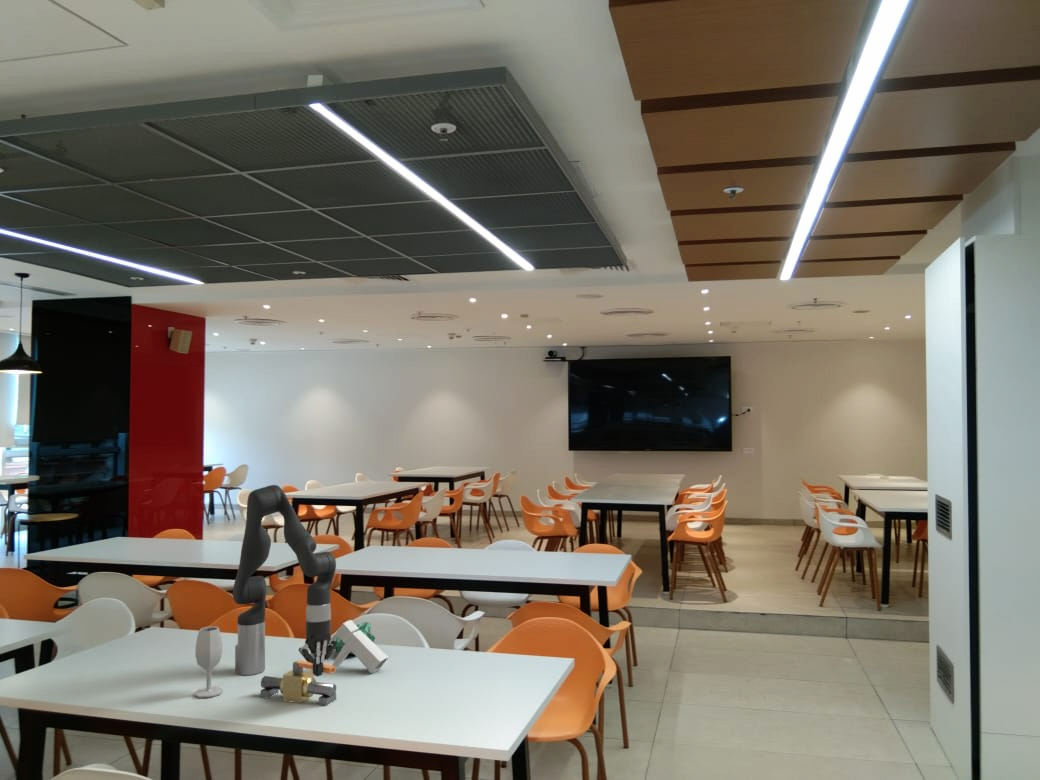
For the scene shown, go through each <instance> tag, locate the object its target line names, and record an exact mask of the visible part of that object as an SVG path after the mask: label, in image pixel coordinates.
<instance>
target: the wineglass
mask: <svg viewBox="0 0 1040 780" xmlns="http://www.w3.org/2000/svg"><path fill="white" fill-rule="evenodd" d="M195 643H196V644H195V659H196V664H197V665H198V666H199V667H201V668H202V669H203V670H204V671H205V672H206V687H204V688H203V687H202V688H200V689H197V690H196V691H195V692H194V697H196V698H198V699H205V698H213V697H217V696H219V695H221V694H222V693H223V691H224V688H222V687H220V686H212V670H213V669H214V668H216V666H217V665H219V663H220V662H221V659H222V654H223V641H222V633H221V631H220V628H219V627H218V626H216V625H215V626H206V627H205V626H204V627H201V628H200V629H199V630H198V634H197V637H196V642H195Z"/></svg>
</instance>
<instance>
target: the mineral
mask: <svg viewBox="0 0 1040 780" xmlns="http://www.w3.org/2000/svg"><path fill="white" fill-rule="evenodd" d="M355 625H356V624H355ZM371 625H372V624H371V622H368V621H364V622H361V623H359V624H357V625H356V626H357V627H358V628H359V630H361V631H362V632H363V633H364V634H365V635H366V636H367V637H368V638H369V639H370V640H371V641H372V642H373V643H375V642H374V641H375V640H376V637H375V635H374V634H372V633H371V629H372V626H371ZM359 630H358V631H359ZM335 641H337V645H336V646H335V648H334V650H335V653H336V654H339V652H340V651H341V649H342V648H343V646H344V645H345V643H344V642H343V641H342V640H341V639H340V638H339V637H338V636H337V638H336V639H335ZM350 654H351V655H355V654H354V653H353V652H350V653H349V654H348V655H350Z"/></svg>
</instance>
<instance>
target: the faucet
mask: <svg viewBox="0 0 1040 780" xmlns="http://www.w3.org/2000/svg"><path fill="white" fill-rule="evenodd" d="M358 630H359V628H358V627H357V626H356V624H355V622H353V620H352V619H349V620H347V621H345V622H343V623H341V625H340V626H339V628H337V631H336V633H335V634H334V635H332V636H331V639H332V640H334V641H335V639H336V638H337V636H338V637H339V638H340V639H341V640H342V641H343V642H344V643H345V645H344V646H343V648H342V649H341V651H340V652H339V653H337V656H336V657H335V660H334V661H333V663H332V664H331V665H332V666H336V667H337V666H339V665H341V666H342V664H343V662H344V661H345V660H346V658H347V656H348V655H350V654H351V653H350V652H353V653H354V654H353V655H354V656H355V657H356V658H357V659H358V660H359V662H360V663H361V664H362V665H363V666H364V667H365V668H366V670H367V671H368V672H369V673H370V674H371V673H372V674H374V673H375V671H376V672H377V671H379V670H380V669H381V668H382V667H383V666H384V665H385V663H386V661H387V660H388V658H389V656H388V655H387V654H386V653H385V652H384V651H383V650H382V649H381V648H380V647H378V645H376V644H375V642H372V641H371V640H370V639H369V638H368V637H367V636H366V635H365V634H364V633H363V632H362V631H361V630H359V631H358ZM349 653H350V654H349ZM339 667H340V666H339ZM337 668H338V667H337ZM378 669H379V670H378ZM373 672H374V673H373Z"/></svg>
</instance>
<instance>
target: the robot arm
mask: <svg viewBox="0 0 1040 780" xmlns="http://www.w3.org/2000/svg"><path fill="white" fill-rule="evenodd" d="M246 501H247V502H246V518H245V519H246V520H245V529H244V535H243V539H242V544H241V551H240V557H239V564H238V569H237V573H236V576H235V579H234V584H233V589H232V598H233V601H234V603H235V604H237V605H250V604H253V606H251V607H250V608H249V609H247V610H246V611H244V612H242V613H240V614H238V616H237V644H235V645H234V646H235V647H234V654H235V655H234V659H235V660H234V661H235V662H234V664H235V665H234V671H235V672H234V673H237V674H238V675H240V676H251V675H252V676H253V675H257V674H261V673H263V672H264V671H265V670H266V600H267V599H266V598H267V582H266V579H265V577H264V576H263V575H256V576H252V575H253V574H255V572H256V571H257V570H258V569H260V567H262V566H263V565H264V564H265V562H266V561H267V559H268V558H269V555H270V551H271V545H272V539H271V537H270V534H269V533H268V531H267V530H266V529H265V528H264V527H263V524H262V523H263V522H262V521H263V519H264V517H266V516H269V515H272V514H275V513H279V514H280V515H281V516H282V517H283V521H284V522H283V537H284V540H285V542H286V544H287V545H288V546H289V547H290V549H291V550H292V551H293V552H294V554H295V556H296V558H297V561H298V564H299V567H300V570H301V571H302V573H303V574H304V575H305V576H307V577H308V578H309V577H310V578H315V577H316V580H315V581H314V582H313V583H311V584H309V585H308V586H307V590H306V608H305V609H306V610H305V635H306V636H305V638H306V639H305V640H304V645H303V646H302V647H299V648H298V652H299V653H300V654H301V655H302V657H303V659H304V660H305V662H310V663H312V664H313V670H312V671H313V676H315V677H319V676H322V675H323V673H324V672H323V664H324V662H325V661H326V660H329V659H330V657H331V655H332V654H333V652H334V650H335V649H334V648H335V646H336V645H337V641H334V640H332V639H331V638H332V636H331V631H332V608H331V607H332V606H331V587H332V584H333V581H334V577H335V574H336V569H337V561H336V557H335V555H334V554H333V553H332V552H330V551H322V552H316V553H315V551H316V550H317V542H316V541H315V539H314V537H313V536H312V535H311V533H309V532H308V530H307V529H306V527H305V526H304V525H303V524H302V521H301V520H300V518H299V517H298V515H297V513H296V511H295V509H294V508H293V505H292V504H291V502H290V500H289V498H288V497H287V495H286V493H285V492H284V490H283V489H282V488H281V486H279V485H278V484H277V485H276V484H272V485H271V484H270V485H267V486H264V487H261V488H257V489H254V490H252V491H251V492H250V493H248V496H247V500H246ZM260 672H261V673H260Z"/></svg>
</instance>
